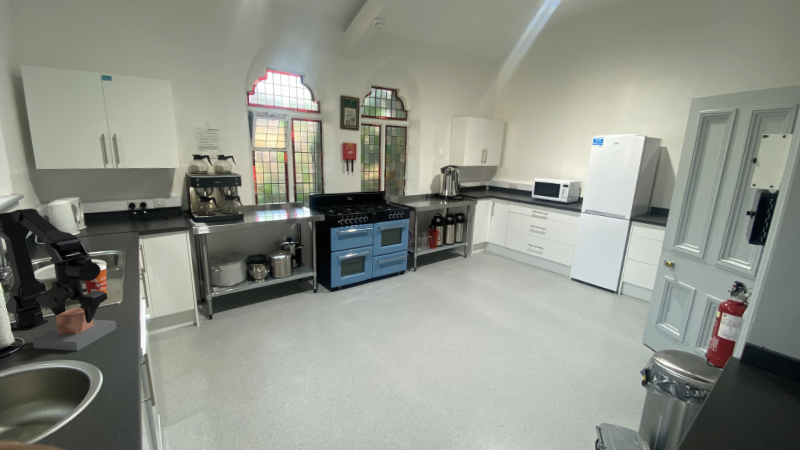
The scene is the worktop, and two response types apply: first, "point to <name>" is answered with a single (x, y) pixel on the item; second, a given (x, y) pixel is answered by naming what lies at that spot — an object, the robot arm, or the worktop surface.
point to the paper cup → (98, 281)
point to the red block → (72, 321)
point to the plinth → (74, 337)
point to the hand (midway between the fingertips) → (75, 321)
